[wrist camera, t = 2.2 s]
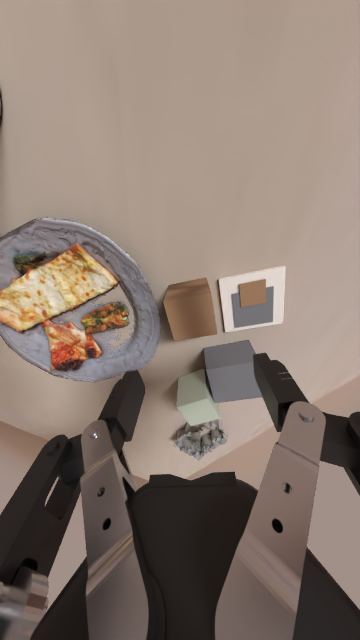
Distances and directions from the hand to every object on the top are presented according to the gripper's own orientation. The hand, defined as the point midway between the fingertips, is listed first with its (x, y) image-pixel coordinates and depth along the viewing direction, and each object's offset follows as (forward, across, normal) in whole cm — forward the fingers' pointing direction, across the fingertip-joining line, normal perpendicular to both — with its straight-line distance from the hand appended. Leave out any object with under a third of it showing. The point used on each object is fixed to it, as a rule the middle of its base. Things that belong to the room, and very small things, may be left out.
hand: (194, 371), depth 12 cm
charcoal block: (+14, -4, +12) cm, 19 cm away
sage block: (+14, +2, +16) cm, 21 cm away
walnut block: (+14, 0, 0) cm, 14 cm away
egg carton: (+14, +4, +30) cm, 33 cm away
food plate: (+14, +17, -1) cm, 22 cm away
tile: (+14, -8, +2) cm, 16 cm away
